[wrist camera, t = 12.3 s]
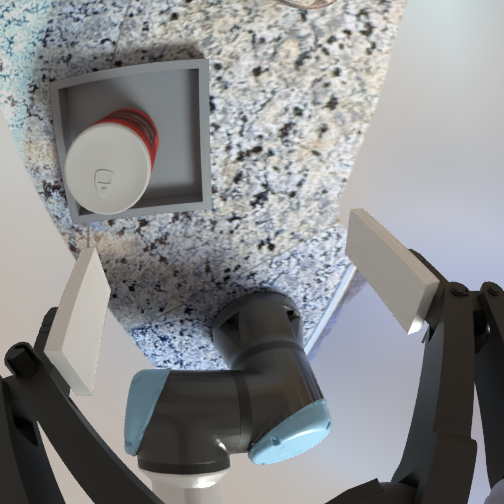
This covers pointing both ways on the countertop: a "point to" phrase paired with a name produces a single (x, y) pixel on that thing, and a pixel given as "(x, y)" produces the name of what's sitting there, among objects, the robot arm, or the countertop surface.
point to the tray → (165, 119)
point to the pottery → (306, 3)
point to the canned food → (112, 161)
